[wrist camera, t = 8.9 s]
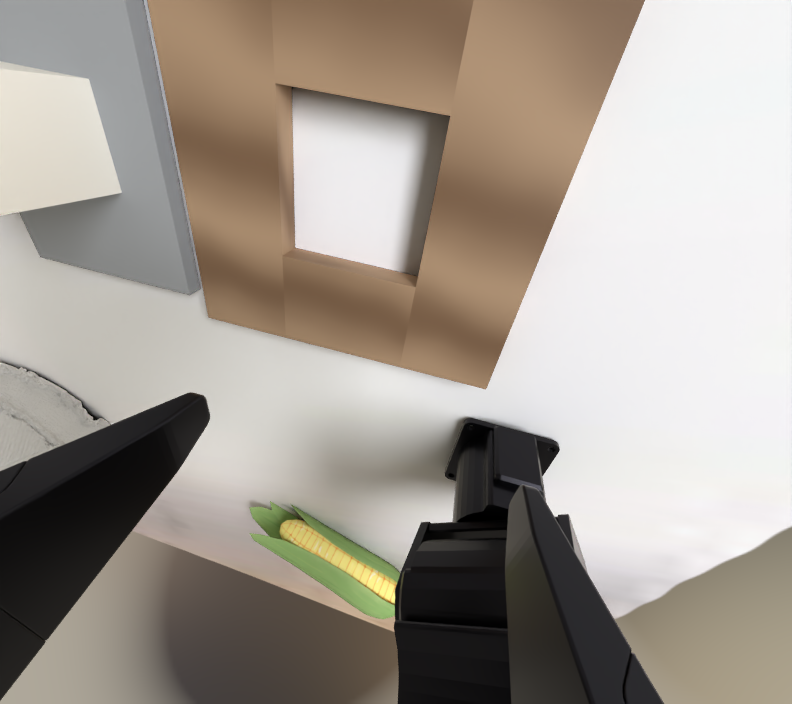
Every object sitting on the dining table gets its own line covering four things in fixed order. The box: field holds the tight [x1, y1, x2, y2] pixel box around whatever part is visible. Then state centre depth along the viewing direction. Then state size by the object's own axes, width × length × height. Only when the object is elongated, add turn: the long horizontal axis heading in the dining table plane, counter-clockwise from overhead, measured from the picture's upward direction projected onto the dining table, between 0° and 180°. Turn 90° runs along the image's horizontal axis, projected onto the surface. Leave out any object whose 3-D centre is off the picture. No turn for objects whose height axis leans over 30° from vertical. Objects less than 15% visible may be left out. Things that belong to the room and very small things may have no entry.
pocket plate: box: [147, 0, 645, 389], centre depth 16 cm, size 18×18×2 cm
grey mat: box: [0, 0, 200, 295], centre depth 18 cm, size 16×11×1 cm
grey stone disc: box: [0, 362, 110, 471], centre depth 36 cm, size 20×20×7 cm
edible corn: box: [249, 501, 400, 619], centre depth 36 cm, size 5×20×5 cm
